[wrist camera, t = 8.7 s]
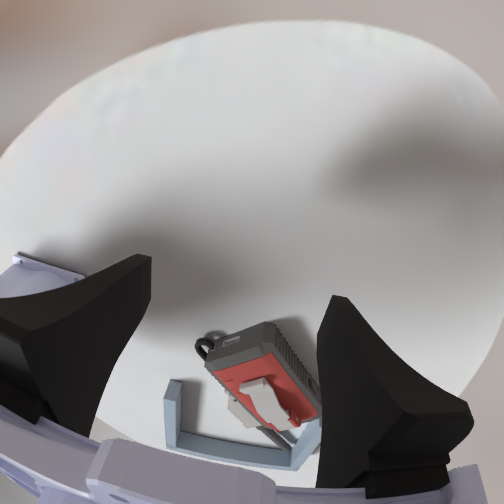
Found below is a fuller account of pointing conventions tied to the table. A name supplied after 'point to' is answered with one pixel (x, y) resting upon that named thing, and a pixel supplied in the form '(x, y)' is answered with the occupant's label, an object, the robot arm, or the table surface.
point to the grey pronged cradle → (234, 450)
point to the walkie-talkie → (263, 380)
